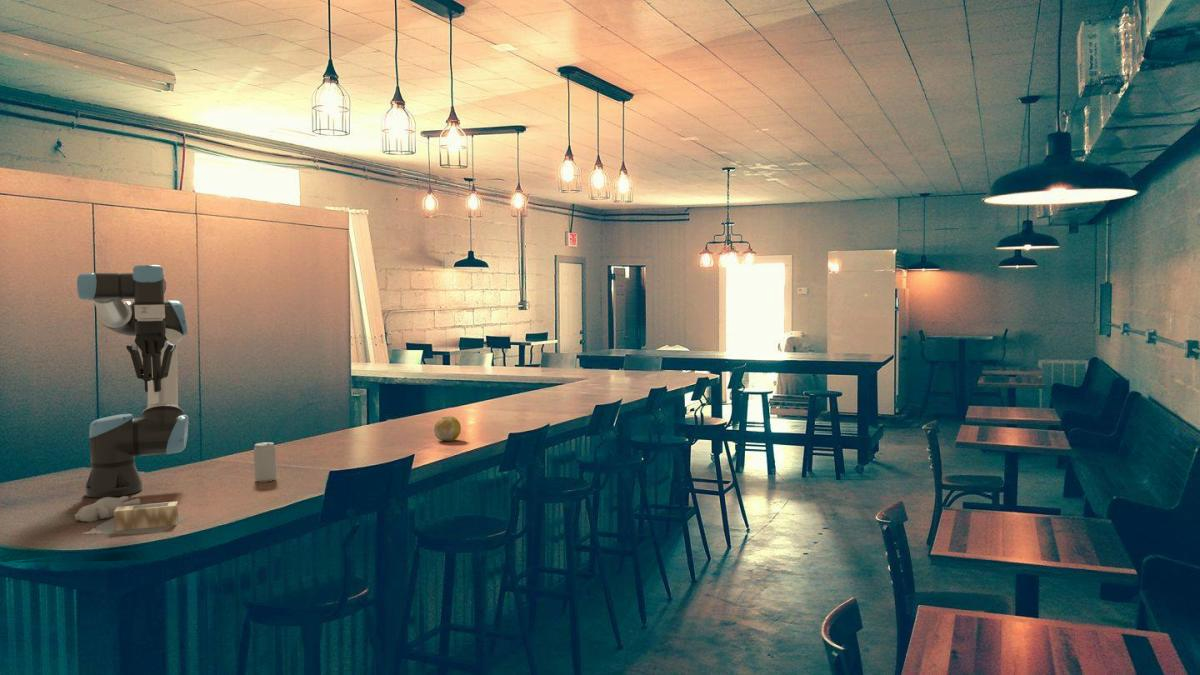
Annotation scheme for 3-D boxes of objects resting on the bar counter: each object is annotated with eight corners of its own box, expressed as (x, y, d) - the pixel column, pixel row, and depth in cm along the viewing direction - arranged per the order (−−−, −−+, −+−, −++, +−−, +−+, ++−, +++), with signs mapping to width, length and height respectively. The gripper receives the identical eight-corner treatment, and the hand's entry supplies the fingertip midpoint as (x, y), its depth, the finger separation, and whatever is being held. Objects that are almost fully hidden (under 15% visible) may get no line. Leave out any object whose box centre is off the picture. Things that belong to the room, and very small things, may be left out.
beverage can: (268, 483, 267) (267, 445, 267) (250, 482, 269) (249, 445, 268) (280, 478, 274) (279, 442, 273) (262, 477, 275) (261, 441, 274)
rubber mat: (79, 535, 211) (79, 534, 211) (112, 519, 226) (112, 518, 226) (160, 534, 211) (160, 532, 211) (188, 518, 226) (188, 516, 226)
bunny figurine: (67, 507, 224) (121, 488, 237) (70, 525, 225) (124, 506, 238) (88, 511, 219) (142, 492, 232) (91, 530, 220) (145, 509, 233)
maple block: (114, 511, 213) (175, 505, 218) (117, 506, 218) (177, 501, 223) (114, 530, 213) (176, 524, 218) (118, 525, 218) (178, 519, 223)
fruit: (438, 438, 345) (438, 414, 344) (464, 439, 343) (463, 414, 343) (430, 443, 335) (430, 418, 334) (456, 443, 333) (456, 418, 333)
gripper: (119, 320, 233) (123, 405, 234) (167, 320, 233) (170, 404, 234) (133, 319, 240) (137, 402, 242) (179, 319, 241) (183, 401, 242)
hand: (153, 403), depth 238 cm, fingers closed
